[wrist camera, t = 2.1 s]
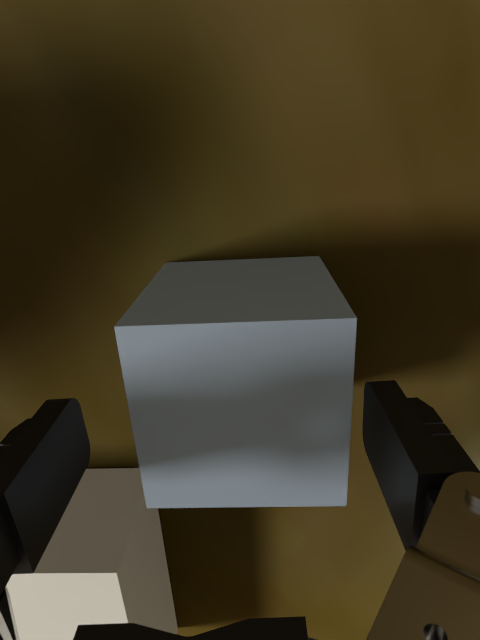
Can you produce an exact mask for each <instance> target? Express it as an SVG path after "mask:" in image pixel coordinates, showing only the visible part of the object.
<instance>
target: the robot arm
mask: <svg viewBox="0 0 480 640" xmlns="http://www.w3.org/2000/svg"><path fill="white" fill-rule="evenodd" d="M363 441H364V446H365V450H366V453H367V456H368V458H369V461H370V463H371V466H372V468H373V471H374V473H375V476H376V478H377V481H378V483H379V486H380V488H381V491H382V493H383V496H384V498H385V501H386V503H387V506H388V508H389V510H390V513H391V515H392V518H393V520H394V523H395V525H396V528H397V530H398V533H399V535H400V538H401V540H402V543H403V545H404V548H405V550H406V552H405V554H404V556H403V558H402V561H401V563H400V565H399V567H398V570H397V572H396V574H395V576H394V579H393V581H392V583H391V585H390V587H389V590H388V592H387V594H386V596H385V599H384V601H383V603H382V605H381V608H380V610H379V612H378V614H377V616H376V619H375V621H374V623H373V625H372V628H371V630H370V632H369V634H368V636H367V639H366V640H480V471H479V470H478V468H477V467H476V466H475V464H474V463H473V462H472V460H471V459H470V458H469V456H468V455H467V453H466V452H465V451H464V449H463V448H462V447H461V445H460V444H459V443H458V441H457V440H456V439H455V437H454V436H453V435H451V432H450V430H449V429H448V428H447V426H446V425H445V424H443V421H442V419H441V418H440V417H439V415H438V414H437V413H436V411H435V410H434V409H433V408H432V407H431V406H429V405H428V404H426V403H425V402H423V401H422V400H420V399H419V398H407V397H406V396H405V394H404V393H403V391H402V390H401V388H400V387H399V385H398V384H397V382H396V381H394V380H392V381H374V382H366V384H365V388H364V408H363ZM89 459H90V443H89V439H88V435H87V431H86V427H85V423H84V419H83V415H82V411H81V407H80V404H79V402H78V400H77V399H75V398H69V399H52V400H47V401H45V402H44V403H43V405H42V406H41V407H40V408H39V410H38V411H37V412H36V413H35V415H34V416H33V417H32V418H31V419H26V420H25V421H24V422H22V423H21V424H19V425H18V426H17V427H15V428H14V429H12V430H11V431H10V432H9V433H8V434H7V435H6V437H5V438H4V439H3V440H2V441H1V443H0V640H20V639H19V635H18V630H17V626H16V621H15V617H14V613H13V608H12V604H11V599H10V595H9V592H8V590H7V587H6V585H7V583H8V581H9V579H10V578H11V576H12V574H32V573H34V571H35V569H36V567H37V565H38V563H39V561H40V559H41V557H42V555H43V553H44V552H45V550H46V548H47V546H48V544H49V542H50V540H51V538H52V536H53V534H54V532H55V530H56V528H57V526H58V524H59V522H60V520H61V518H62V516H63V514H64V512H65V510H66V508H67V506H68V504H69V502H70V500H71V498H72V496H73V494H74V492H75V490H76V488H77V486H78V484H79V482H80V480H81V478H82V476H83V474H84V472H85V470H86V468H87V466H88V463H89ZM73 640H316V639H313V638H309V637H308V635H307V627H306V619H305V617H281V618H254V619H246V620H243V621H240V622H236V623H233V624H230V625H227V626H224V627H221V628H217V629H214V630H211V631H208V632H205V633H202V634H198V635H195V636H191V637H185V636H180V635H177V634H173V633H169V632H165V631H162V630H158V629H154V628H150V627H146V626H143V625H139V624H135V623H117V624H90V625H78V627H77V630H76V632H75V635H74V638H73Z"/></svg>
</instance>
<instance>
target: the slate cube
mask: <svg viewBox="0 0 480 640" xmlns="http://www.w3.org/2000/svg"><path fill="white" fill-rule="evenodd" d="M356 327H357V317H356V316H355V314H354V312H353V311H352V309H351V307H350V306H349V304H348V303H347V301H346V299H345V298H344V296H343V294H342V293H341V291H340V289H339V288H338V286H337V284H336V283H335V281H334V280H333V278H332V276H331V275H330V273H329V271H328V270H327V268H326V266H325V265H324V263H323V261H322V260H321V258H320V257H319V256H307V257H284V258H261V259H237V260H214V261H191V262H167V263H165V264H164V265H163V267H162V268H161V269H160V270H159V272H158V273H157V274H156V275H155V277H154V278H153V279H152V280H151V282H150V283H149V284H148V285H147V286H146V288H145V289H144V290H143V291H142V293H141V294H140V295H139V296H138V298H137V299H136V300H135V301H134V303H133V304H132V305H131V306H130V308H129V309H128V310H127V311H126V313H125V314H124V315H123V316H122V318H121V319H120V320H119V321H118V322H117V324H116V325H115V326H114V329H115V334H116V340H117V345H118V351H119V356H120V362H121V368H122V373H123V379H124V384H125V390H126V396H127V401H128V407H129V412H130V418H131V424H132V429H133V435H134V440H135V446H136V452H137V457H138V463H139V468H140V474H141V479H142V485H143V491H144V496H145V502H146V507H147V508H216V507H297V506H346V502H347V485H348V467H349V450H350V432H351V414H352V397H353V379H354V362H355V344H356Z"/></svg>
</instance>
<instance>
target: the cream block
mask: <svg viewBox="0 0 480 640" xmlns="http://www.w3.org/2000/svg"><path fill="white" fill-rule="evenodd" d="M6 587H7V590H8V592H9V595H10V599H11V604H12V608H13V613H14V617H15V621H16V626H17V630H18V635H19V639H20V640H73V638H74V635H75V632H76V630H77V627H78V625H90V624H117V623H135V624H139V625H143V626H146V627H150V628H154V629H158V630H162V631H165V632H169V633H173V634H177V630H178V627H177V621H176V615H175V609H174V603H173V597H172V591H171V584H170V578H169V572H168V566H167V560H166V554H165V548H164V542H163V536H162V530H161V524H160V518H159V512H158V508H147V507H146V502H145V496H144V491H143V485H142V479H141V474H140V468H107V469H86V470H85V472H84V474H83V476H82V478H81V480H80V482H79V484H78V486H77V488H76V490H75V492H74V494H73V496H72V498H71V500H70V502H69V504H68V506H67V508H66V510H65V512H64V514H63V516H62V518H61V520H60V522H59V524H58V526H57V528H56V530H55V532H54V534H53V536H52V538H51V540H50V542H49V544H48V546H47V548H46V550H45V552H44V553H43V555H42V557H41V559H40V561H39V563H38V565H37V567H36V569H35V571H34V573H32V574H12V576H11V578H10V579H9V581H8V583H7V585H6Z"/></svg>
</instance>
